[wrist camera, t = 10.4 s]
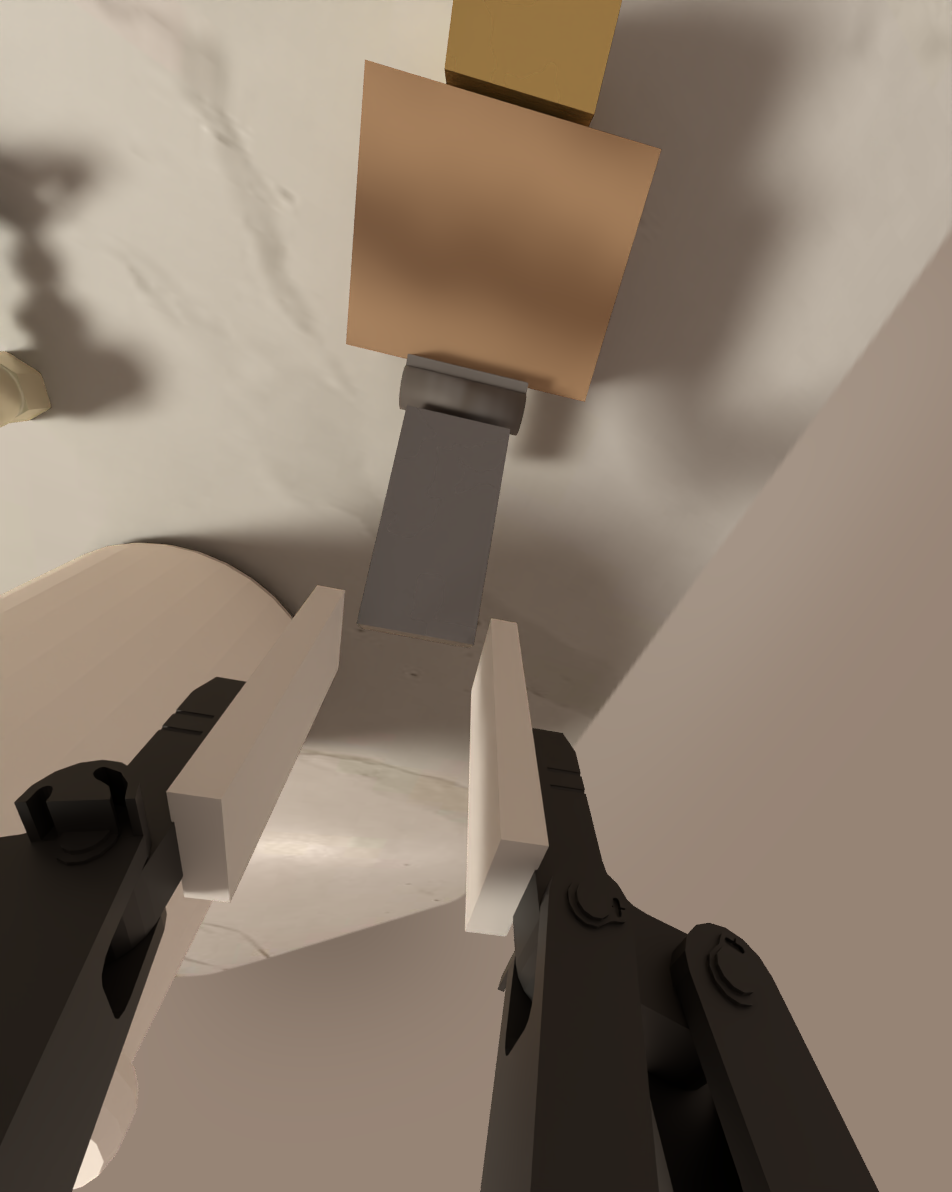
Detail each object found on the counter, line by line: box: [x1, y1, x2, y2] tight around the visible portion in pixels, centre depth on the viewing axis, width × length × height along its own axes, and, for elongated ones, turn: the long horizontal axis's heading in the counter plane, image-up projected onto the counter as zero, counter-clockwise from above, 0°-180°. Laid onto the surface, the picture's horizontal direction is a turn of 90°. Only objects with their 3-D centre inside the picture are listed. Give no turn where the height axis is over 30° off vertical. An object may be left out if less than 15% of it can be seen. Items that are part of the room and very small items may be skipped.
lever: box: [357, 405, 510, 648], centre depth 16 cm, size 8×4×1 cm
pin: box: [445, 0, 622, 127], centre depth 20 cm, size 19×5×9 cm, turn 168°
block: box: [346, 60, 661, 435], centre depth 20 cm, size 10×10×11 cm
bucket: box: [0, 543, 293, 1189], centre depth 25 cm, size 26×22×25 cm
